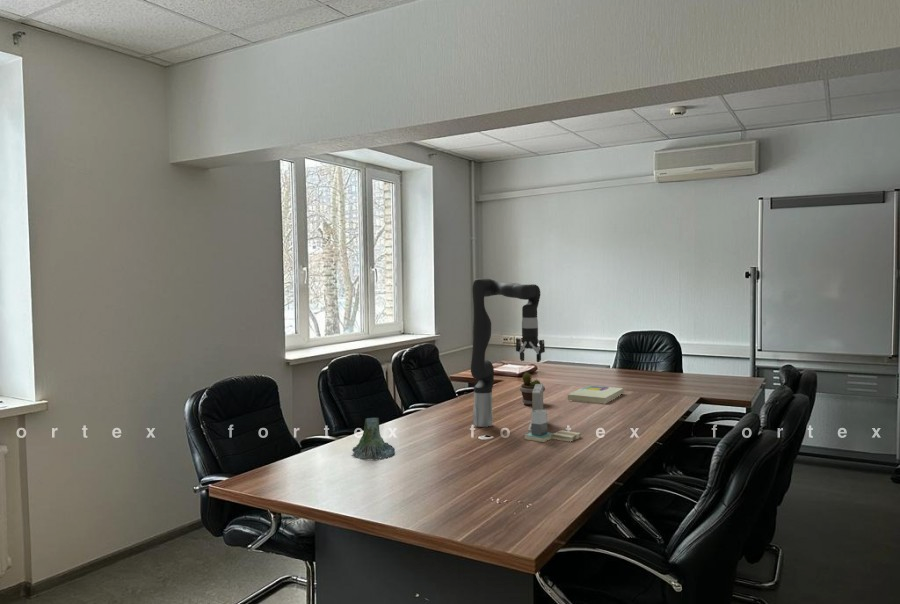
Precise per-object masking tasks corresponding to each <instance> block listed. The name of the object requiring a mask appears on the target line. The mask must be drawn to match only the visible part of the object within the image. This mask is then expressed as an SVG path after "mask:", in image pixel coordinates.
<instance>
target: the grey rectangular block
mask: <svg viewBox="0 0 900 604" xmlns="http://www.w3.org/2000/svg"><path fill="white" fill-rule="evenodd" d="M530 414H531V419H530V420H531V421H530V422H531V430H532V431H531V432H532V435H536V436H543V435H545V434H547V432H548V410H546V409H543V410H540V409H537V410H534V411H530Z"/></svg>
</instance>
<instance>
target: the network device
mask: <svg viewBox="0 0 900 604" xmlns="http://www.w3.org/2000/svg"><path fill="white" fill-rule="evenodd" d="M543 386H544V384H543V383H541V384H535V387H534V389H533V392H532V406H531V407H532V411H534V410H537V409H540V410H544V392H543ZM527 431H529V432H532V428H531V421H530V422H529V425H528V429H527Z"/></svg>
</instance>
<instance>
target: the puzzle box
mask: <svg viewBox="0 0 900 604" xmlns="http://www.w3.org/2000/svg"><path fill="white" fill-rule="evenodd" d="M624 389H625V388H623V387H613V386H598V385H586V386H583V387H581V388H579V389H577V390H574V391H572V392H569V393H568V394H567V401H568V400H572V401H571V402H576V401H581V402H580V403H587V402H591V403H590V404H597V403H603V404H602V405H607V404H608V403H607V402H609V401H611V400H612V401H614V400H615V399H614V398H616V397H618V396H619V397H621V396H622V395H621V394H623V395H624V393H625V391H624ZM620 395H621V396H620ZM619 397H618V398H619ZM613 399H614V400H613ZM616 399H617V398H616ZM612 401H611V402H612ZM606 403H607V404H606ZM609 403H610V402H609Z"/></svg>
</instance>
